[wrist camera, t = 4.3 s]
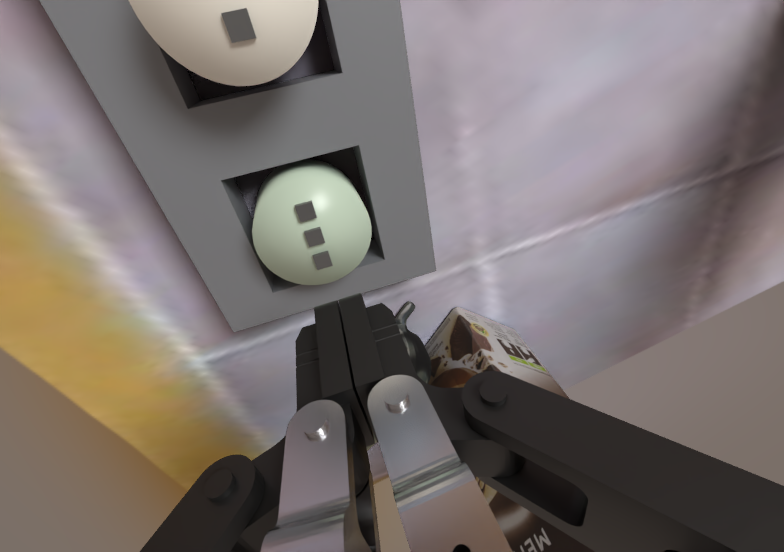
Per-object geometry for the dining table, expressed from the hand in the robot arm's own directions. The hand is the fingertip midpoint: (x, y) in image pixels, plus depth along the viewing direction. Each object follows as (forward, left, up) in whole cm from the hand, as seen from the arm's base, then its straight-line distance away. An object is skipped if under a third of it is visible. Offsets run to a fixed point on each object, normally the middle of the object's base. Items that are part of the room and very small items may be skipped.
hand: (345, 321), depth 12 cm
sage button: (+1, 0, -8) cm, 8 cm away
